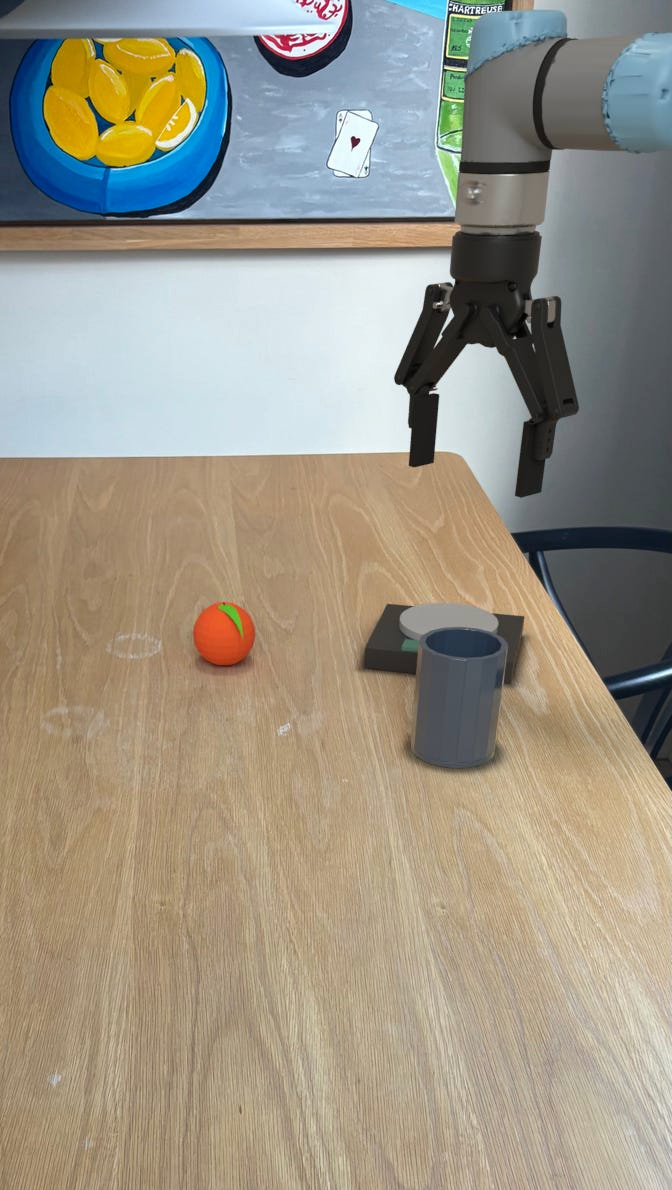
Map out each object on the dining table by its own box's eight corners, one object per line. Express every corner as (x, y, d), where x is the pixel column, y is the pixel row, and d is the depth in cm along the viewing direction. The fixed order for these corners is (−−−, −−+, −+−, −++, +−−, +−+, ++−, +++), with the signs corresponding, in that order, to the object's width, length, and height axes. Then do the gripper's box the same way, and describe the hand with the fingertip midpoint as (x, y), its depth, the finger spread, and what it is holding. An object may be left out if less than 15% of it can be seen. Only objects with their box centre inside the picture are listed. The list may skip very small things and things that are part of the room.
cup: (498, 736, 121) (511, 631, 115) (489, 773, 115) (503, 663, 109) (417, 726, 123) (426, 623, 118) (404, 762, 117) (413, 654, 111)
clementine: (270, 671, 136) (271, 610, 132) (215, 683, 133) (214, 621, 129) (237, 646, 142) (237, 587, 138) (183, 658, 139) (181, 598, 136)
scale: (522, 636, 143) (525, 607, 141) (510, 683, 132) (514, 653, 130) (385, 623, 147) (387, 595, 145) (363, 668, 136) (365, 638, 134)
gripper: (365, 222, 112) (354, 459, 123) (586, 242, 95) (549, 516, 106) (424, 217, 115) (408, 447, 127) (647, 235, 98) (605, 500, 109)
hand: (472, 479), depth 116 cm, fingers open, 13 cm apart
